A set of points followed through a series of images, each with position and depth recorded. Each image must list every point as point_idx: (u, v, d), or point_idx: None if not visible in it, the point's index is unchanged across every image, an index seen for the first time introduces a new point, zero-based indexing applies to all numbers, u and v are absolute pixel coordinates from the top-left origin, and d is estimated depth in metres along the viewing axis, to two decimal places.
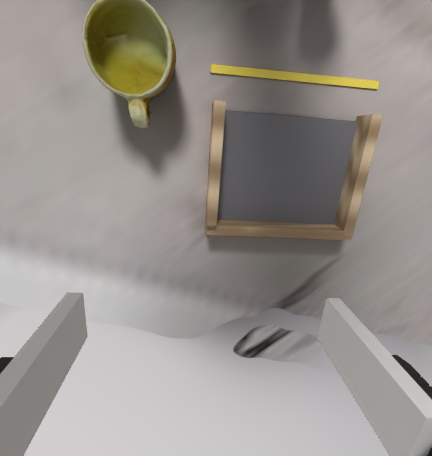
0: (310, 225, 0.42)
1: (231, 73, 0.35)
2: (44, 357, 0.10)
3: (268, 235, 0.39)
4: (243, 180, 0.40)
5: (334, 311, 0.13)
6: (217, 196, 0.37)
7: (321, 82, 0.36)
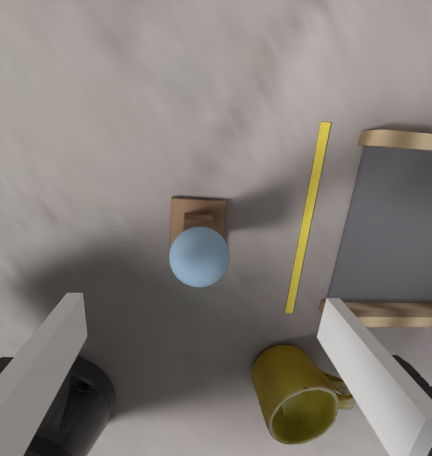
0: None
1: (295, 295, 0.34)
2: (44, 357, 0.10)
3: None
4: (402, 277, 0.34)
5: (334, 311, 0.13)
6: (425, 318, 0.33)
7: (314, 200, 0.30)
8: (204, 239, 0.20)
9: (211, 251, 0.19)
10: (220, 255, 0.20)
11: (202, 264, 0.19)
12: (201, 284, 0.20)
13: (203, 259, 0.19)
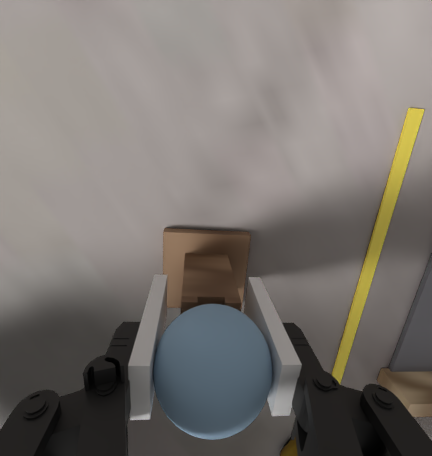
0: None
1: (345, 363, 0.23)
2: (159, 321, 0.12)
3: None
4: None
5: (251, 287, 0.15)
6: None
7: (385, 231, 0.19)
8: (225, 350, 0.09)
9: (242, 378, 0.09)
10: (259, 383, 0.09)
11: (221, 412, 0.09)
12: None
13: (224, 402, 0.09)
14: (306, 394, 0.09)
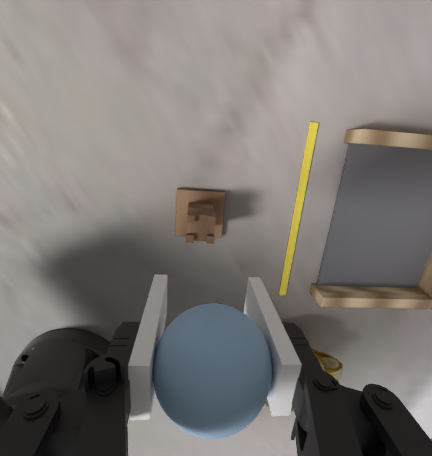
0: None
1: (287, 278, 0.38)
2: (159, 321, 0.12)
3: None
4: (385, 263, 0.38)
5: (251, 287, 0.15)
6: (405, 300, 0.36)
7: (304, 192, 0.34)
8: (225, 349, 0.09)
9: (242, 378, 0.09)
10: (258, 382, 0.09)
11: (221, 411, 0.09)
12: (218, 437, 0.10)
13: (224, 401, 0.09)
14: (306, 394, 0.09)
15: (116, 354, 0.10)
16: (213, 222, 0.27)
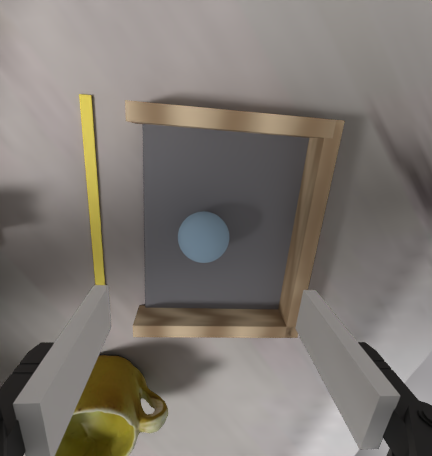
0: (304, 185, 0.26)
1: None
2: (81, 342, 0.10)
3: (311, 262, 0.26)
4: (229, 279, 0.30)
5: (310, 302, 0.14)
6: (247, 327, 0.28)
7: (96, 189, 0.26)
8: (209, 221, 0.23)
9: (216, 230, 0.23)
10: (223, 234, 0.24)
11: (209, 241, 0.23)
12: (208, 259, 0.24)
13: (210, 237, 0.23)
14: (408, 424, 0.08)
15: (15, 384, 0.09)
16: None
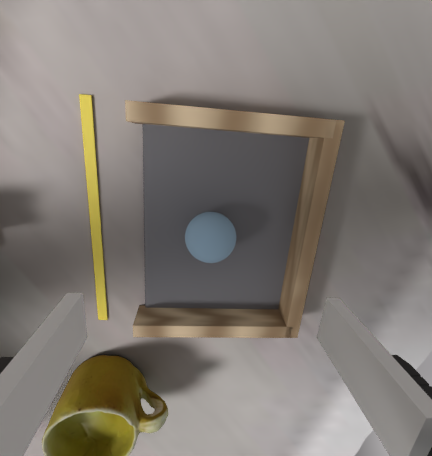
0: (304, 185, 0.26)
1: (104, 299, 0.30)
2: (44, 357, 0.10)
3: (311, 262, 0.26)
4: (229, 279, 0.30)
5: (334, 311, 0.13)
6: (247, 327, 0.28)
7: (96, 189, 0.26)
8: (220, 221, 0.24)
9: (228, 229, 0.24)
10: (233, 232, 0.24)
11: (223, 241, 0.23)
12: (221, 258, 0.24)
13: (224, 237, 0.23)
14: None
15: None
16: None
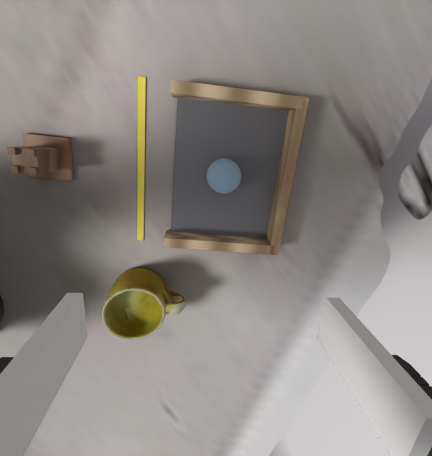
0: (285, 143, 0.38)
1: (142, 224, 0.42)
2: (44, 357, 0.10)
3: (288, 196, 0.39)
4: (231, 213, 0.42)
5: (334, 311, 0.13)
6: (243, 244, 0.41)
7: (143, 141, 0.38)
8: (233, 162, 0.36)
9: (238, 168, 0.36)
10: (240, 171, 0.37)
11: (236, 175, 0.36)
12: (233, 188, 0.37)
13: (236, 172, 0.36)
14: None
15: None
16: (32, 155, 0.32)
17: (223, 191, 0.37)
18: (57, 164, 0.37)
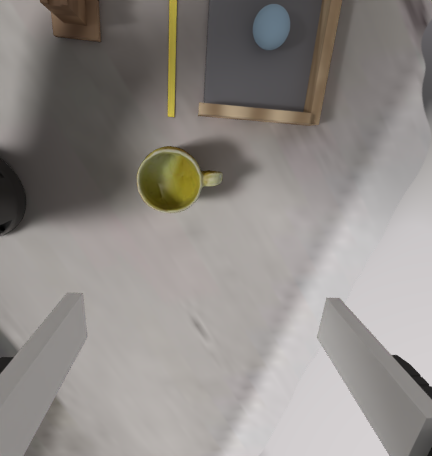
0: None
1: (173, 96, 0.39)
2: (44, 357, 0.10)
3: (330, 51, 0.36)
4: (267, 83, 0.40)
5: (334, 311, 0.13)
6: (282, 111, 0.38)
7: None
8: None
9: None
10: None
11: None
12: (285, 39, 0.35)
13: (289, 19, 0.34)
14: None
15: None
16: None
17: (276, 41, 0.35)
18: (84, 17, 0.34)
